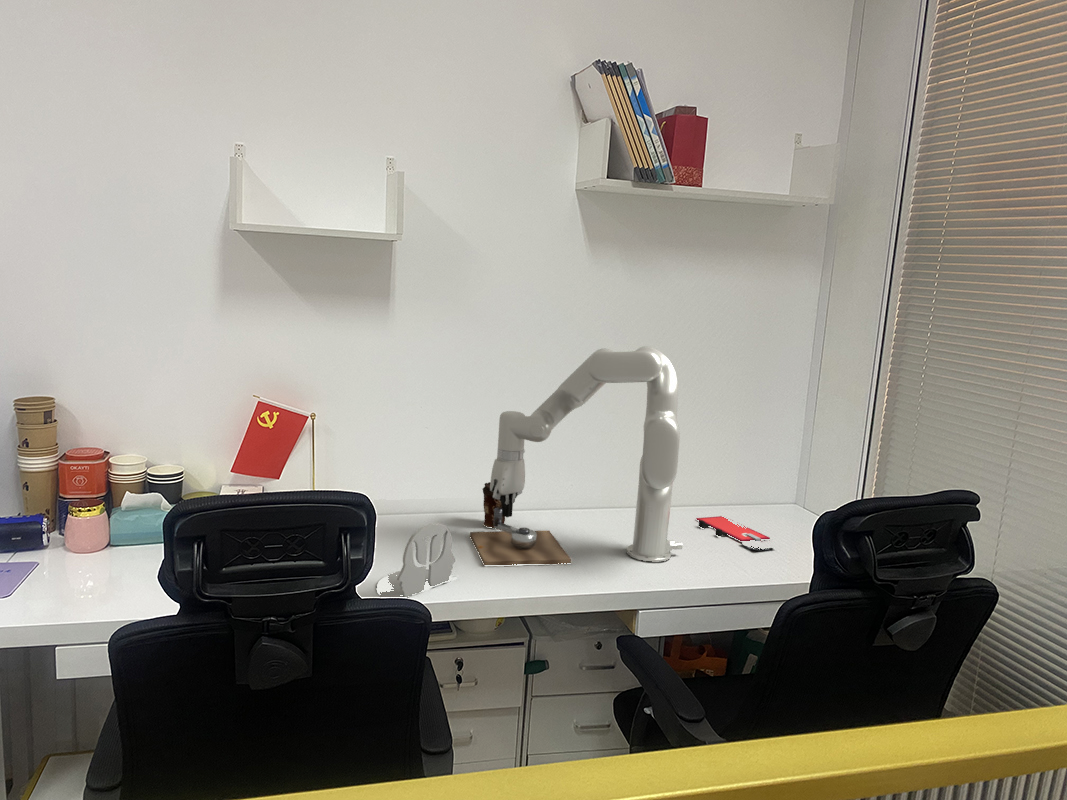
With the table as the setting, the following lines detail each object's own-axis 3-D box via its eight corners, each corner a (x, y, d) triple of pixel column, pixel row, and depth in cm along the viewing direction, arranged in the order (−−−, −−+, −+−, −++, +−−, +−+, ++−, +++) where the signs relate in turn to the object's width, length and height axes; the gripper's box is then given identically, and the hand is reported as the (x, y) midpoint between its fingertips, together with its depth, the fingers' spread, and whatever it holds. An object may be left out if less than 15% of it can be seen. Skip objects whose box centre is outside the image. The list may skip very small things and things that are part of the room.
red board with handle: (748, 554, 236) (786, 550, 242) (750, 545, 235) (788, 541, 242) (686, 522, 262) (722, 520, 269) (687, 514, 262) (723, 512, 268)
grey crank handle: (540, 543, 225) (542, 518, 223) (524, 549, 219) (526, 523, 218) (501, 529, 234) (503, 505, 233) (485, 535, 228) (487, 509, 227)
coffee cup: (475, 521, 247) (478, 481, 244) (500, 520, 250) (503, 479, 248) (486, 531, 239) (488, 489, 237) (511, 529, 242) (514, 487, 240)
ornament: (393, 604, 186) (396, 535, 183) (356, 587, 194) (358, 521, 191) (459, 579, 203) (462, 516, 200) (422, 564, 211) (425, 503, 208)
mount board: (548, 535, 239) (549, 528, 239) (570, 564, 217) (571, 556, 217) (469, 536, 233) (470, 529, 233) (484, 567, 211) (484, 559, 211)
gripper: (519, 448, 237) (515, 508, 240) (482, 454, 226) (478, 516, 229) (537, 454, 232) (533, 514, 235) (500, 460, 221) (495, 524, 224)
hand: (506, 515), depth 232 cm, fingers closed
